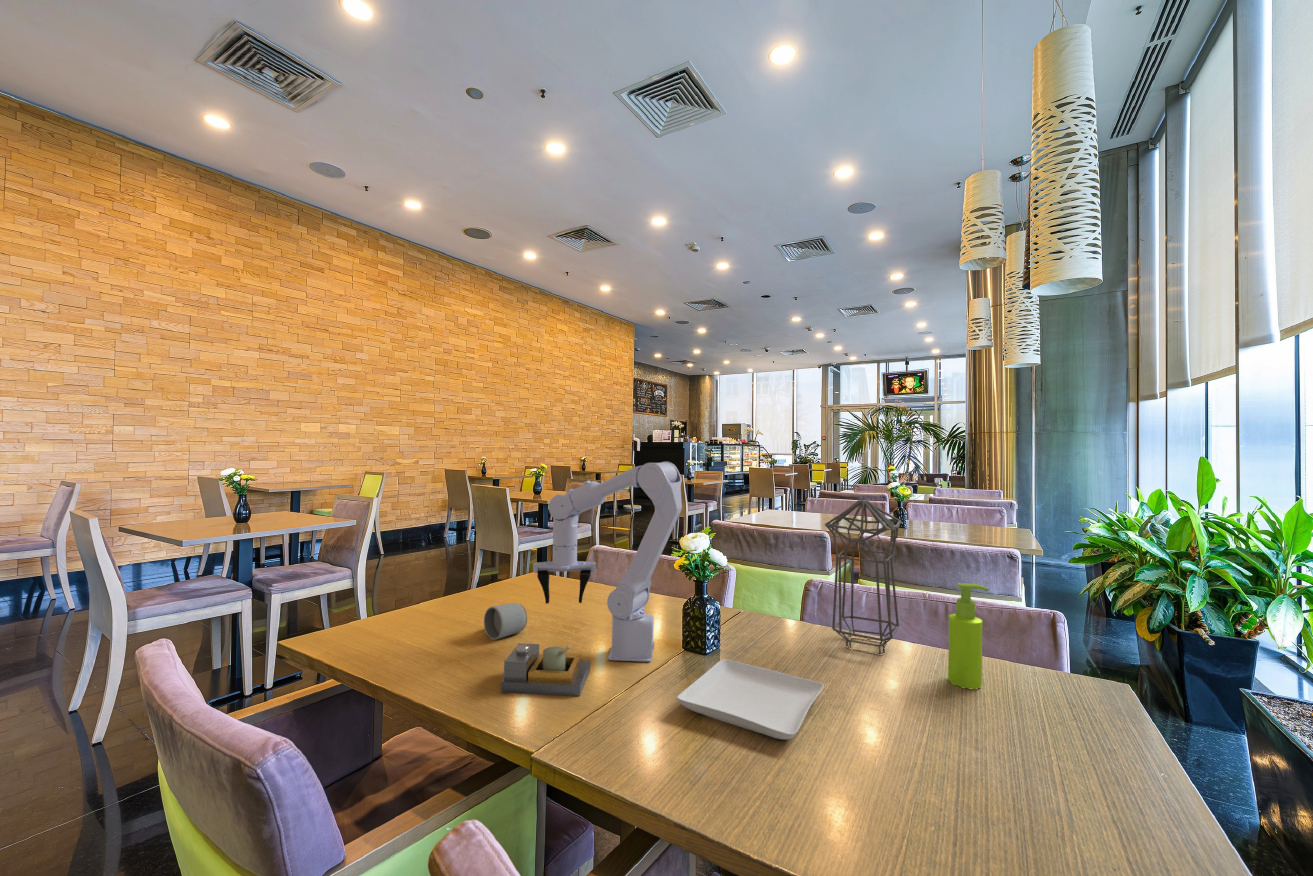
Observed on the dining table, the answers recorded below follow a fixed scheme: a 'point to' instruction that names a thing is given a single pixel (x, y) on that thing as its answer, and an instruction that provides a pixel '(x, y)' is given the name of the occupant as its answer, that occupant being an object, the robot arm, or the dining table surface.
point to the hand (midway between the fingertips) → (563, 602)
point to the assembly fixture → (542, 674)
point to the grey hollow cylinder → (504, 620)
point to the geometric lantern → (894, 529)
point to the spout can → (554, 658)
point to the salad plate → (752, 698)
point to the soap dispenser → (965, 641)
